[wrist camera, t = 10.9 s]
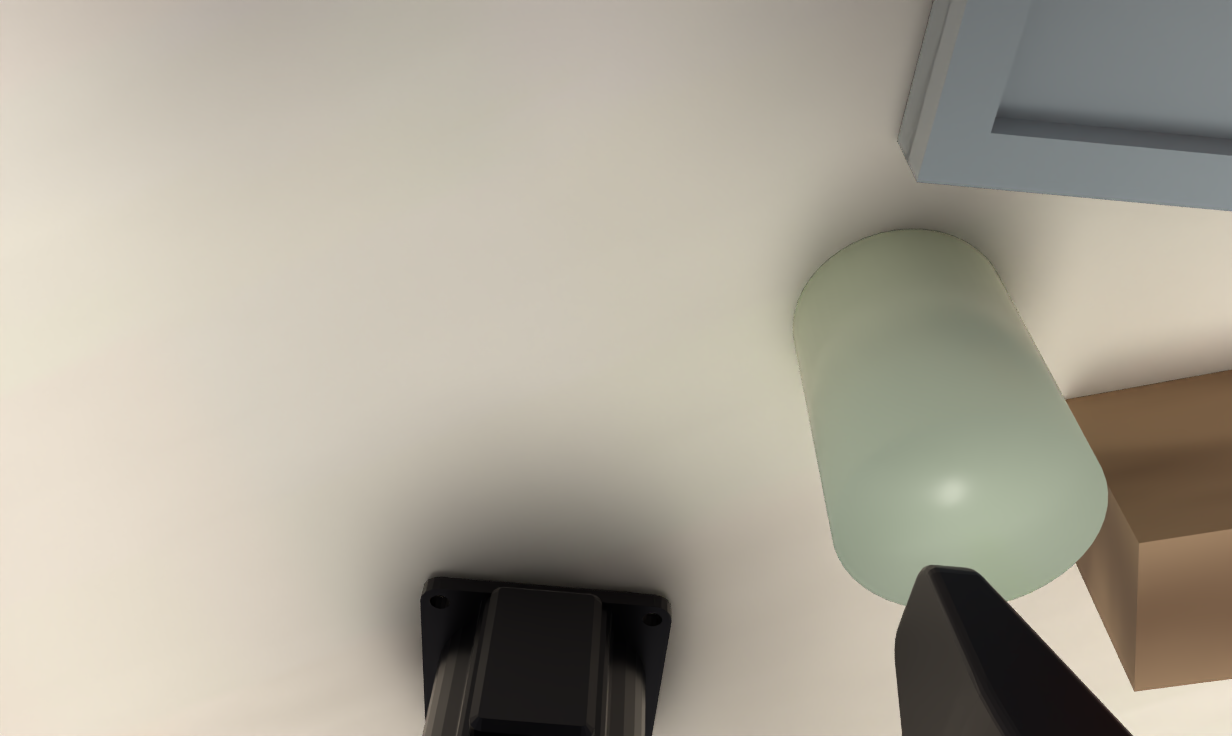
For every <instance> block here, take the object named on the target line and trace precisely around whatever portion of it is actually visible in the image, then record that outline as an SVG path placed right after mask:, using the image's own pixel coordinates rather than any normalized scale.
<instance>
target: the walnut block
mask: <svg viewBox="0 0 1232 736" xmlns="http://www.w3.org/2000/svg"><path fill="white" fill-rule="evenodd" d="M1065 401H1066V402H1067V404H1068V406H1069V408H1070V410H1071V412H1072V414H1073V415H1074V417H1075V419H1076V421H1077V423H1078V425H1079V427H1080V428H1081V430H1082V432H1083V434H1084V436H1085V438H1086V440H1087V441H1088V443H1089V445H1090V447H1091V449H1092V451H1093V453H1094V454H1095V456H1096V458H1097V460H1098V462H1099V464H1100V466H1101V467H1102V470H1103V473H1104V476H1105V478H1106V482H1107V489H1108V506H1107V511H1106V515H1105V519H1104V522H1103V524H1102V527H1101V529H1100V531H1099V533H1098V535H1097V536H1096V538H1095V540H1094V542H1093V543H1092V545H1091V546H1090V547H1089V548H1088V550H1087V551H1086V552H1085V553H1084V555H1083V556H1082V557H1081V558H1080V559H1079V560H1078V561H1077V562H1076V564H1077V567H1078V569H1079V571H1080V573H1081V575H1082V578H1083V580H1084V582H1085V584H1086V586H1087V589H1088V591H1089V593H1090V595H1091V597H1092V600H1093V602H1094V604H1095V606H1096V608H1097V611H1098V613H1099V615H1100V617H1101V619H1102V622H1103V624H1104V626H1105V628H1106V630H1107V633H1108V635H1109V637H1110V639H1111V641H1112V644H1113V646H1114V648H1115V650H1116V652H1117V655H1118V657H1119V659H1120V661H1121V663H1122V666H1123V668H1124V670H1125V672H1126V674H1127V677H1128V679H1129V681H1130V683H1131V685H1132V688H1133V690H1134V692H1135V691H1142V690H1150V689H1157V688H1165V687H1173V686H1180V685H1188V684H1196V683H1203V682H1211V681H1219V680H1226V679H1232V370H1227V371H1222V372H1216V373H1211V374H1205V375H1200V376H1194V377H1189V378H1183V379H1177V380H1172V381H1166V382H1161V383H1155V384H1150V385H1144V386H1139V387H1133V388H1128V389H1122V390H1117V391H1111V392H1106V393H1100V394H1094V395H1089V396H1083V397H1078V398H1072V399H1067V400H1065Z"/></svg>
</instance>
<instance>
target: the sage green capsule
mask: <svg viewBox="0 0 1232 736" xmlns="http://www.w3.org/2000/svg"><path fill="white" fill-rule="evenodd" d="M793 338H794V343H795V349H796V354H797V359H798V364H799V369H800V374H801V380H802V385H803V390H804V395H805V400H806V405H807V410H808V416H809V421H810V426H811V431H812V436H813V441H814V446H815V452H816V457H817V462H818V467H819V472H820V477H821V482H822V488H823V493H824V498H825V503H826V508H827V513H828V518H829V524H830V529H831V534H832V539H833V544H834V548H835V550H836V553H837V556H838V558H839V560H840V561H841V563H842V565H843V566H844V568H845V569H846V570H847V572H848V573H849V574H850V575H851V576H852V577H853V578H854V579H855V580H856V581H857V582H858V583H859V584H861V585H862V586H863V587H865V588H866V589H868V590H869V591H871V592H872V593H874V594H876V595H878V596H880V597H882V598H884V599H886V600H889V601H892V602H895V603H898V604H901V605H905V606H906V604H907V602H908V599H909V596H910V594H911V591H912V588H913V585H914V583H915V580H916V577H917V575H918V574H919V572H920V571H921V569H922V568H923V567H925V566H928V565H943V566H954V567H966V568H971V569H973V570H975V571H977V572H978V573H980V574H981V575H982V576H983V577H984V578H985V579H986V580H987V581H988V582H989V583H990V584H991V586H992V587H993V588H994V589H995V590H996V591H997V592H998V593H999V594H1000V595H1001V596H1002V597H1003V598H1004V599H1005V600H1006V601H1010V600H1013V599H1016V598H1019V597H1021V596H1024V595H1026V594H1028V593H1031V592H1033V591H1035V590H1037V589H1039V588H1041V587H1043V586H1044V585H1046V584H1048V583H1049V582H1051V581H1053V580H1054V579H1056V578H1057V577H1059V576H1060V575H1061V574H1063V573H1064V572H1065V571H1066V570H1068V569H1069V568H1070V567H1072V566H1073V565H1074V564H1075V563H1076V562H1077V561H1078V560H1079V559H1080V558H1081V557H1082V556H1083V555H1084V553H1085V552H1086V551H1087V550H1088V548H1089V547H1090V546H1091V545H1092V543H1093V542H1094V540H1095V538H1096V536H1097V535H1098V533H1099V531H1100V529H1101V527H1102V524H1103V522H1104V519H1105V515H1106V511H1107V506H1108V489H1107V482H1106V478H1105V476H1104V473H1103V470H1102V467H1101V466H1100V464H1099V462H1098V460H1097V458H1096V456H1095V454H1094V453H1093V451H1092V449H1091V447H1090V445H1089V443H1088V441H1087V440H1086V438H1085V436H1084V434H1083V432H1082V430H1081V428H1080V427H1079V425H1078V423H1077V421H1076V419H1075V417H1074V415H1073V414H1072V412H1071V410H1070V408H1069V406H1068V404H1067V402H1066V401H1065V399H1064V397H1063V395H1062V393H1061V391H1060V389H1059V388H1058V386H1057V384H1056V382H1055V380H1054V378H1053V376H1052V375H1051V373H1050V371H1049V369H1048V367H1047V365H1046V363H1045V361H1044V360H1043V358H1042V356H1041V354H1040V352H1039V350H1038V348H1037V347H1036V345H1035V343H1034V341H1033V339H1032V337H1031V335H1030V334H1029V332H1028V330H1027V328H1026V326H1025V324H1024V322H1023V321H1022V319H1021V317H1020V315H1019V313H1018V311H1017V309H1016V308H1015V306H1014V304H1013V302H1012V300H1011V298H1010V296H1009V295H1008V293H1007V291H1006V289H1005V287H1004V285H1003V283H1002V282H1001V280H1000V278H999V276H998V274H997V272H996V271H995V269H994V267H993V266H992V264H991V263H990V262H989V261H988V260H987V258H986V257H985V256H984V255H983V254H982V253H981V252H979V251H978V250H977V249H976V248H975V247H973V246H971V245H970V244H968V243H967V242H965V241H963V240H961V239H959V238H956V237H954V236H952V235H948V234H945V233H941V232H938V231H931V230H925V229H904V230H894V231H889V232H884V233H879V234H876V235H873V236H870V237H866V238H864V239H862V240H860V241H857V242H855V243H853V244H851V245H849V246H848V247H846V248H844V249H842V250H841V251H839V252H838V253H836V254H835V255H834V256H832V257H831V258H830V259H828V260H827V261H826V262H825V263H824V264H823V265H822V266H821V267H820V268H819V269H818V270H817V271H816V272H815V274H814V275H813V276H812V277H811V278H810V280H809V281H808V283H807V284H806V286H805V288H804V289H803V291H802V293H801V295H800V298H799V300H798V302H797V306H796V309H795V312H794V319H793Z"/></svg>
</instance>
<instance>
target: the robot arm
mask: <svg viewBox="0 0 1232 736" xmlns="http://www.w3.org/2000/svg"><path fill="white" fill-rule="evenodd" d="M437 595H441V596H445V597H440V596H437ZM420 602H421V627H422V651H423V676H424V700H425V726H424V731H423V735H422V736H652V731H653V725H654V720H655V714H656V708H657V702H658V696H659V691H660V685H661V679H662V673H663V668H664V662H665V656H666V650H667V645H668V639H669V633H670V627H671V621H672V620H671V604H670V603H669V601H668V600H667V599H665V598H663V597H662V596H657V595H651V594H639V593H627V592H615V591H603V590H591V589H579V588H567V587H555V586H543V585H531V584H519V583H507V582H495V581H483V580H471V579H459V578H448V577H435V578H432V579H429V580H428V581H427V582H426V583H425V584H424V588H423V592H422V596H421V600H420ZM648 613H655V614H648ZM895 667H896V677H897V687H898V697H899V708H900V718H901V728H902V736H1133V735H1132V734H1131V733H1130V732H1129V731H1128V730H1127V729H1126V728H1125V727H1124V726H1123V725H1122V723H1121V722H1120V721H1119V720H1118V719H1117V718H1116V717H1115V716H1114V715H1113V714H1112V713H1111V712H1110V711H1109V710H1108V709H1107V708H1106V706H1105V705H1104V704H1103V703H1102V702H1101V701H1100V700H1099V699H1098V698H1097V697H1096V696H1095V695H1094V694H1093V693H1092V692H1091V691H1090V689H1089V688H1088V687H1087V686H1086V685H1085V684H1084V683H1083V682H1082V681H1081V680H1080V679H1079V678H1078V677H1077V676H1076V675H1075V674H1074V673H1073V671H1072V670H1071V669H1070V668H1069V667H1068V666H1067V665H1066V664H1065V663H1064V662H1063V661H1062V660H1061V659H1060V658H1059V657H1058V656H1057V654H1056V653H1055V652H1054V651H1053V650H1052V649H1051V648H1050V647H1049V646H1048V645H1047V644H1046V643H1045V642H1044V641H1043V640H1042V639H1041V638H1040V636H1039V635H1038V634H1037V633H1036V632H1035V631H1034V630H1033V629H1032V628H1031V627H1030V626H1029V625H1028V624H1027V623H1026V622H1025V621H1024V619H1023V618H1022V617H1021V616H1020V615H1019V614H1018V613H1017V612H1016V611H1015V610H1014V609H1013V608H1012V607H1011V606H1010V605H1009V604H1008V603H1007V601H1006V600H1005V599H1004V598H1003V597H1002V596H1001V595H1000V594H999V593H998V592H997V591H996V590H995V589H994V588H993V587H992V586H991V584H990V583H989V582H988V581H987V580H986V579H985V578H984V577H983V576H982V575H981V574H980V573H978V572H977V571H975V570H973V569H971V568H966V567H954V566H943V565H928V566H925V567H923V568H922V569H921V571H920V572H919V574H918V575H917V577H916V580H915V583H914V585H913V588H912V591H911V594H910V596H909V599H908V602H907V604H906V607H905V610H904V613H903V615H902V618H901V621H900V623H899V626H898V629H897V633H896V638H895Z"/></svg>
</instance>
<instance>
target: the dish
mask: <svg viewBox="0 0 1232 736" xmlns="http://www.w3.org/2000/svg"><path fill="white" fill-rule="evenodd" d="M897 142H898V144H899V146H900V148H901V150H902V152H903V154H904V156H905V158H906V160H907V163H908V165H909V167H910V169H911V171H912V173H913V175H914V177H915V179H916V181H917V182H922V183H933V184H944V185H954V186H965V187H976V188H987V189H998V190H1008V191H1019V192H1030V193H1041V194H1051V195H1062V196H1073V197H1084V198H1095V199H1105V200H1116V201H1127V202H1138V203H1149V204H1159V205H1170V206H1181V207H1192V208H1202V209H1213V210H1224V211H1232V0H934V1H933V5H932V9H931V12H930V16H929V20H928V24H927V28H926V32H925V35H924V39H923V43H922V47H921V51H920V55H919V59H918V62H917V66H916V70H915V74H914V78H913V82H912V86H911V89H910V93H909V97H908V101H907V105H906V109H905V113H904V116H903V120H902V124H901V128H900V132H899V136H898V140H897Z"/></svg>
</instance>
